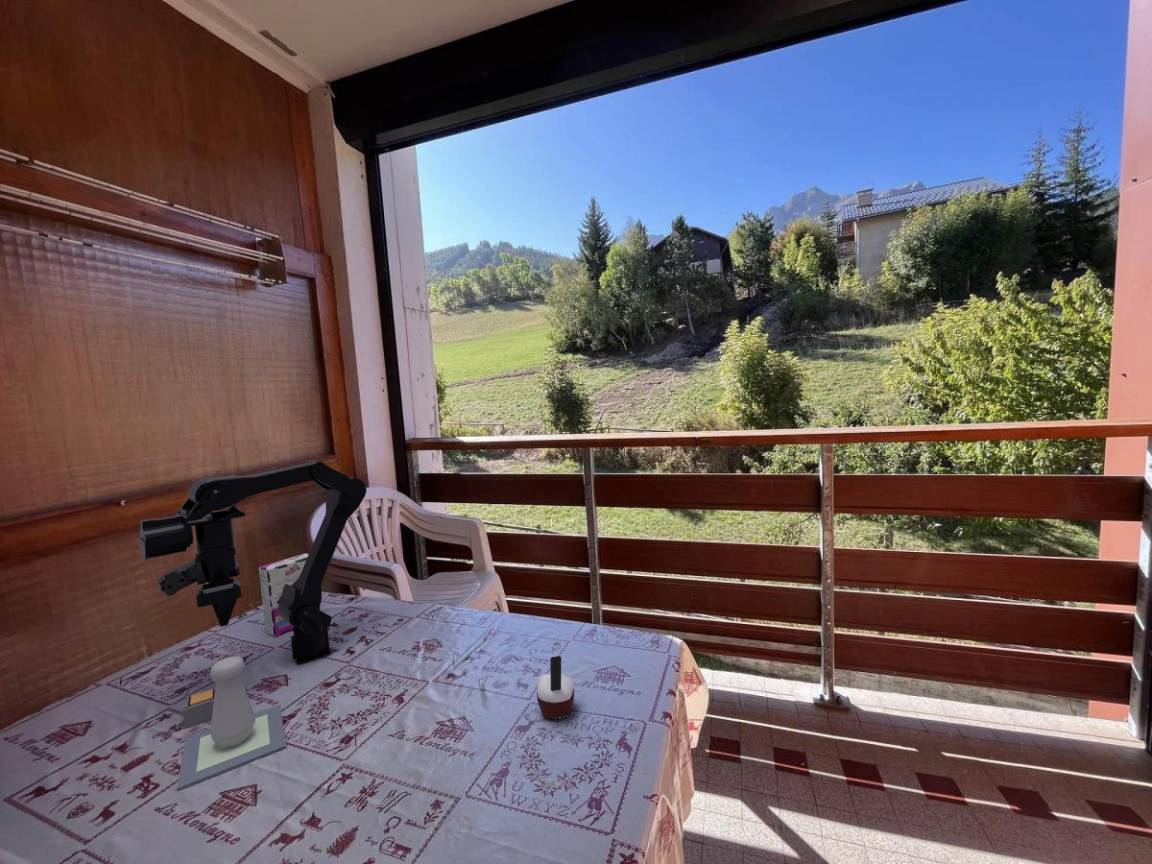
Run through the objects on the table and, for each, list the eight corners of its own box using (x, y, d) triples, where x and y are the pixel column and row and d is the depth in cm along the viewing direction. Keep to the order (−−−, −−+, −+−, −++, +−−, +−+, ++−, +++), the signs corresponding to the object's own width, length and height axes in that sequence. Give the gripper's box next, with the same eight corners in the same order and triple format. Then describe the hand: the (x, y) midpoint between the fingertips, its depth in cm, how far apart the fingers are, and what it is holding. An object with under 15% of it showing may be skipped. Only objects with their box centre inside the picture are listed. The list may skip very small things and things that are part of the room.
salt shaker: (265, 731, 77) (258, 653, 76) (229, 756, 71) (221, 673, 70) (239, 725, 79) (232, 649, 78) (202, 749, 73) (194, 668, 72)
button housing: (221, 703, 86) (219, 686, 86) (220, 716, 82) (218, 698, 82) (187, 714, 83) (185, 696, 83) (184, 728, 79) (182, 710, 79)
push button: (214, 703, 84) (212, 689, 84) (213, 712, 82) (212, 697, 82) (192, 710, 83) (191, 695, 83) (191, 719, 80) (190, 704, 80)
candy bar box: (311, 614, 122) (305, 552, 121) (321, 618, 119) (316, 555, 118) (263, 633, 113) (257, 566, 112) (273, 638, 110) (267, 569, 109)
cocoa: (546, 697, 83) (541, 630, 83) (581, 699, 82) (576, 631, 82) (529, 732, 74) (523, 656, 74) (567, 735, 73) (561, 657, 73)
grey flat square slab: (280, 706, 84) (279, 703, 84) (286, 747, 73) (285, 744, 73) (185, 739, 76) (185, 736, 76) (177, 791, 66) (177, 787, 66)
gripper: (164, 543, 91) (173, 621, 92) (152, 567, 76) (163, 661, 77) (235, 531, 98) (242, 604, 99) (237, 552, 83) (245, 638, 84)
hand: (224, 625), depth 90 cm, fingers closed
